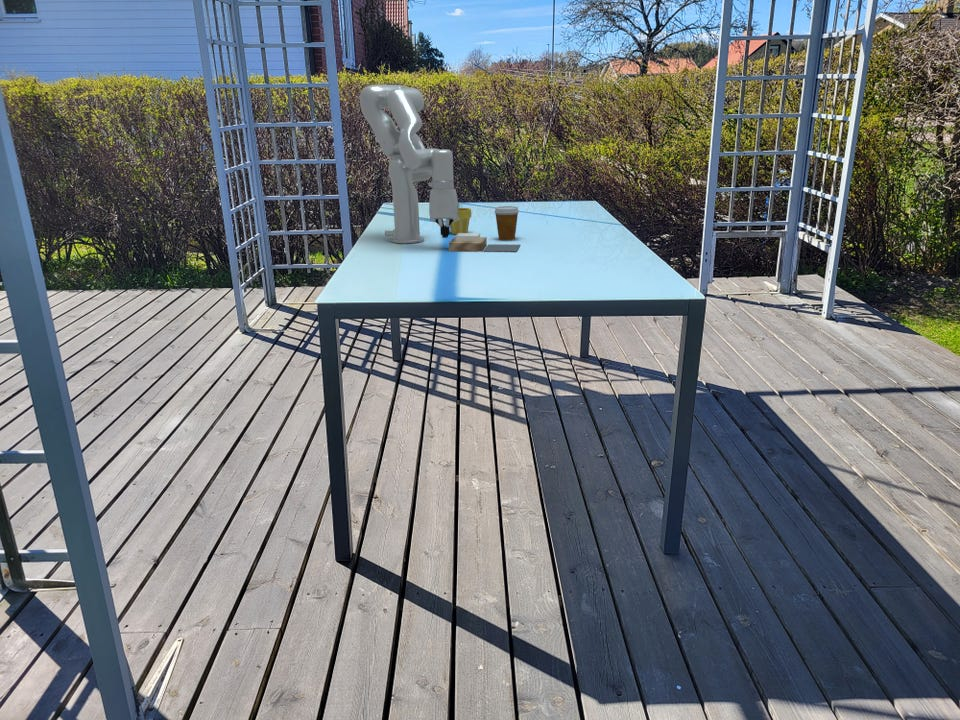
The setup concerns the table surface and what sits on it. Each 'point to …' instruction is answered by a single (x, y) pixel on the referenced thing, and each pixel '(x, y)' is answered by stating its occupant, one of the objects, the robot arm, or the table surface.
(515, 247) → the mat
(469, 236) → the tile
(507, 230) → the disposable coffee cup
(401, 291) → the table surface
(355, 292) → the table surface
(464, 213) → the plant pot
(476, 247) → the block
